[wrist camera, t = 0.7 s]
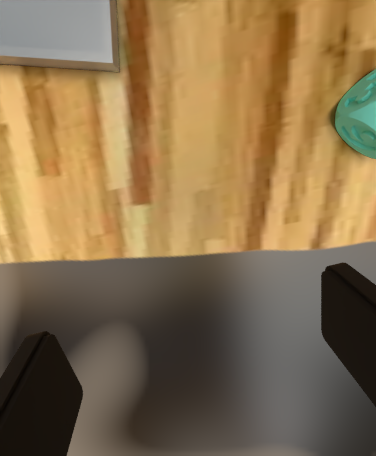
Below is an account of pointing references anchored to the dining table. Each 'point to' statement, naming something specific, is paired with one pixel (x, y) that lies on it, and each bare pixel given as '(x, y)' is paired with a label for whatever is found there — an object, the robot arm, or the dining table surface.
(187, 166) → the dining table surface
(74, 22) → the bin
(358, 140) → the decorative dice
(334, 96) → the dining table surface
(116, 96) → the dining table surface
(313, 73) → the dining table surface
